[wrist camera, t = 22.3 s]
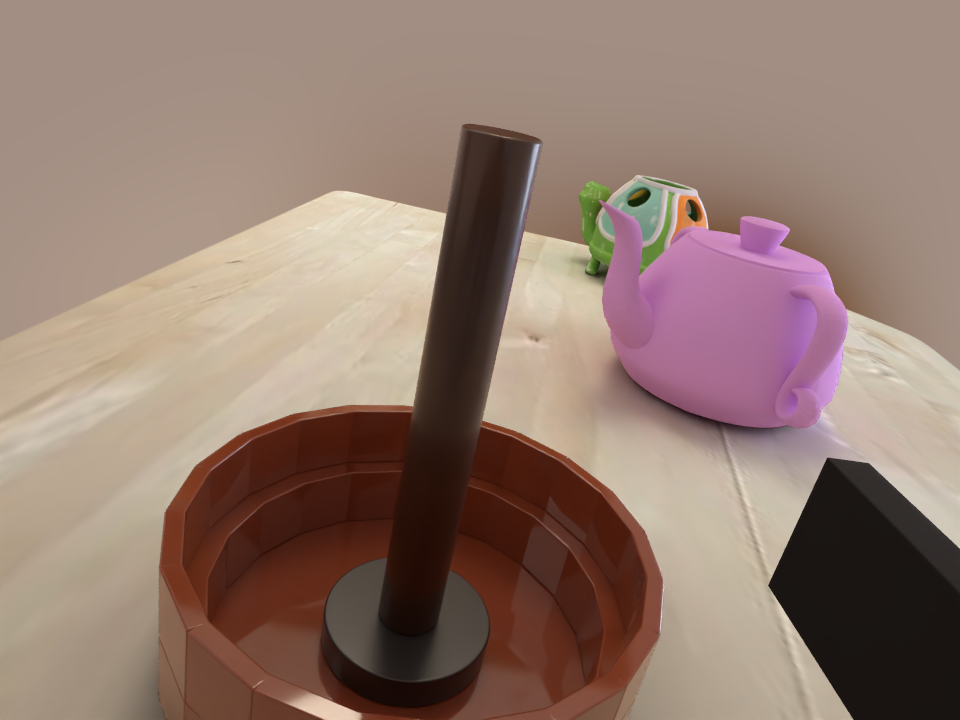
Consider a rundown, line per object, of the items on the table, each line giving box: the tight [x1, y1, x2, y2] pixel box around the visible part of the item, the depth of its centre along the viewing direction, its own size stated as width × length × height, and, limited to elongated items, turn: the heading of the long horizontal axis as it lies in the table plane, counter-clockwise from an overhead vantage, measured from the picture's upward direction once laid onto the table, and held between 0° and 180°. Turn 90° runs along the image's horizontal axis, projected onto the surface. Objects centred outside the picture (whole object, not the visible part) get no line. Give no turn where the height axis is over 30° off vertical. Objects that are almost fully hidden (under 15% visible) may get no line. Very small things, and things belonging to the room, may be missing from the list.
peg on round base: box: [321, 124, 543, 707], centre depth 22 cm, size 6×6×18 cm
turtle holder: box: [579, 175, 708, 276], centre depth 82 cm, size 12×18×12 cm
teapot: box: [599, 200, 848, 428], centre depth 52 cm, size 22×22×14 cm
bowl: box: [158, 405, 664, 720], centre depth 24 cm, size 16×16×6 cm
